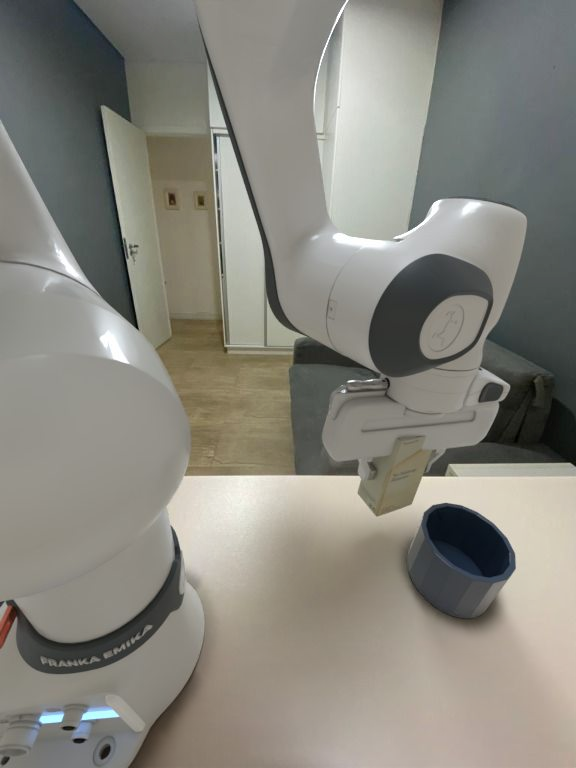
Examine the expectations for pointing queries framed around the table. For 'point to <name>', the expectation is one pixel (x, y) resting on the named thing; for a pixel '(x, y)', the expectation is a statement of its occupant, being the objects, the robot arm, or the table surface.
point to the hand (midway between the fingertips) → (393, 473)
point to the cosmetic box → (395, 477)
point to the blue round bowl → (459, 560)
